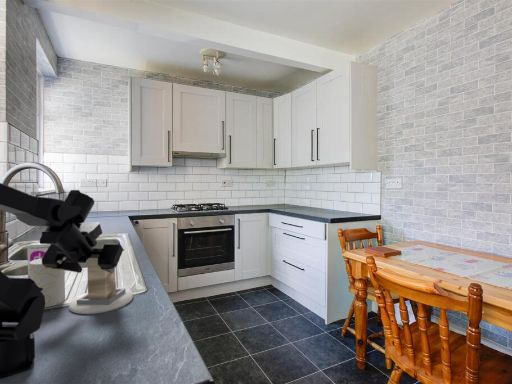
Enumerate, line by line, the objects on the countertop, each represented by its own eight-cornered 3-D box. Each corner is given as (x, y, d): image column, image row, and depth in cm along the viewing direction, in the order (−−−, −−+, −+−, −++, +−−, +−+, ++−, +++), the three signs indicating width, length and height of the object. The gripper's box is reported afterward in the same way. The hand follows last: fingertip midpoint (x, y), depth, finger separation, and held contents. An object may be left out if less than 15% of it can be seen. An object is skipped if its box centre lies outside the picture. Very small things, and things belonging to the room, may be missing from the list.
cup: (24, 309, 78) (23, 265, 78) (38, 298, 86) (37, 257, 86) (59, 305, 81) (57, 263, 80) (69, 295, 88) (68, 255, 88)
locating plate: (114, 314, 75) (114, 301, 75) (54, 313, 76) (54, 300, 76) (142, 291, 91) (141, 280, 91) (92, 290, 92) (92, 279, 92)
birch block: (105, 301, 81) (104, 255, 80) (88, 301, 81) (87, 255, 81) (115, 295, 86) (114, 251, 85) (99, 294, 86) (98, 251, 86)
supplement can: (54, 292, 91) (53, 244, 90) (23, 295, 88) (22, 246, 88) (64, 283, 99) (62, 239, 98) (35, 286, 96) (34, 241, 96)
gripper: (119, 213, 75) (139, 246, 86) (49, 212, 76) (77, 246, 87) (102, 250, 67) (126, 282, 78) (24, 249, 68) (59, 281, 79)
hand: (97, 271), depth 81 cm, fingers open, 9 cm apart
